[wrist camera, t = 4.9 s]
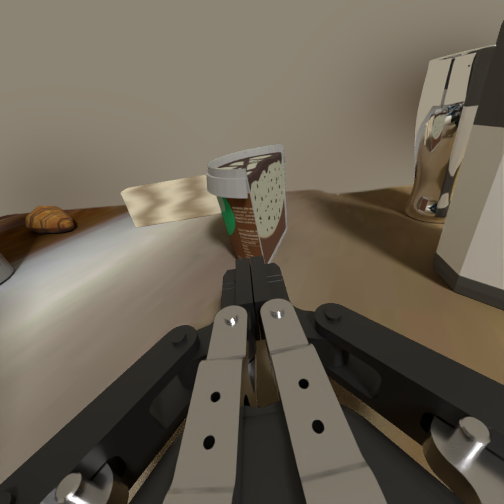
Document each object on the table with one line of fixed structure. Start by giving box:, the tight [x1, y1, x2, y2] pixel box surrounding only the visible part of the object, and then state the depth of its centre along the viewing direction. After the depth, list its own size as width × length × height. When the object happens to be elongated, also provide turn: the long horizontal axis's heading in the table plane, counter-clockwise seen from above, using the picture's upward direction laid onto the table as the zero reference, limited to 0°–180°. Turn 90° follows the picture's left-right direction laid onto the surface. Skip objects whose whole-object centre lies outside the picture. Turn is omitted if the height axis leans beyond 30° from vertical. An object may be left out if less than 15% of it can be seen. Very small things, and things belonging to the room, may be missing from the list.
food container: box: [206, 144, 287, 265], centre depth 25 cm, size 12×6×10 cm, turn 160°
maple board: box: [121, 175, 222, 227], centre depth 39 cm, size 22×2×6 cm, turn 93°
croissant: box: [25, 206, 74, 234], centre depth 44 cm, size 14×7×5 cm, turn 66°
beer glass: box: [405, 45, 495, 223], centre depth 24 cm, size 7×7×15 cm
